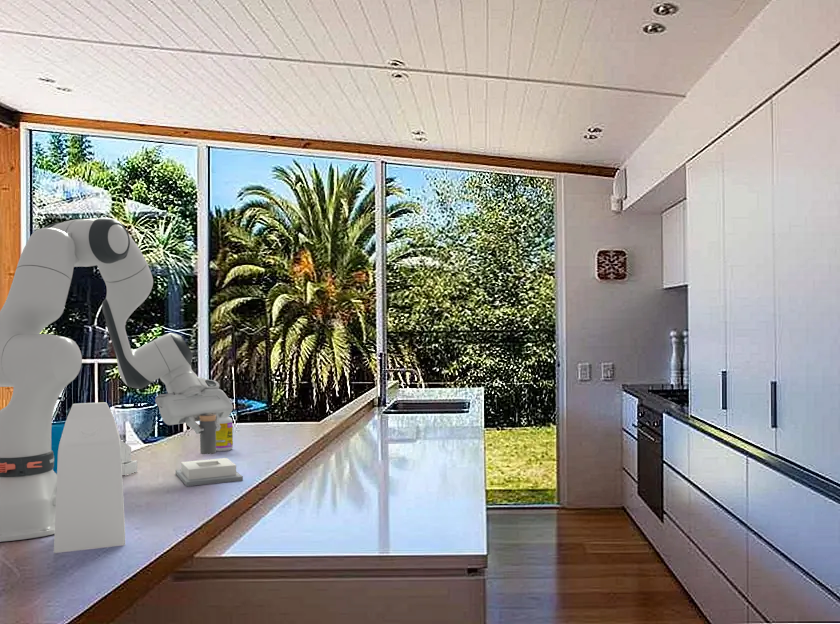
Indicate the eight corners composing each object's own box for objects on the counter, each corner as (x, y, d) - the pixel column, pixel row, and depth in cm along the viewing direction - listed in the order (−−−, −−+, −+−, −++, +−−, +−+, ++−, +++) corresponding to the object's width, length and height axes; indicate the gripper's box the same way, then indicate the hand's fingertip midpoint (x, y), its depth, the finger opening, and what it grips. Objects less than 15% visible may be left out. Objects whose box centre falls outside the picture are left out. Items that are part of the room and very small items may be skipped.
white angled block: (103, 469, 203) (112, 438, 207) (122, 481, 211) (131, 451, 215) (115, 470, 202) (125, 438, 206) (134, 482, 210) (143, 451, 215)
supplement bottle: (229, 451, 242) (229, 410, 242) (208, 451, 242) (208, 410, 242) (235, 448, 249) (234, 408, 249) (214, 448, 249) (214, 408, 249)
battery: (217, 453, 203) (217, 415, 203) (201, 454, 201) (201, 416, 201) (214, 450, 206) (214, 413, 206) (198, 452, 205) (198, 414, 205)
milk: (125, 529, 153) (123, 398, 154) (125, 545, 143) (123, 404, 143) (58, 536, 149) (57, 402, 149) (53, 553, 138) (52, 408, 139)
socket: (242, 480, 198) (242, 466, 199) (186, 486, 192) (186, 472, 192) (227, 468, 215) (227, 455, 215) (175, 473, 209) (175, 460, 209)
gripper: (157, 387, 200) (179, 428, 194) (222, 381, 216) (245, 418, 210) (147, 403, 203) (169, 444, 197) (213, 396, 219) (235, 433, 213)
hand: (209, 430), depth 203 cm, fingers closed on battery, 4 cm apart
